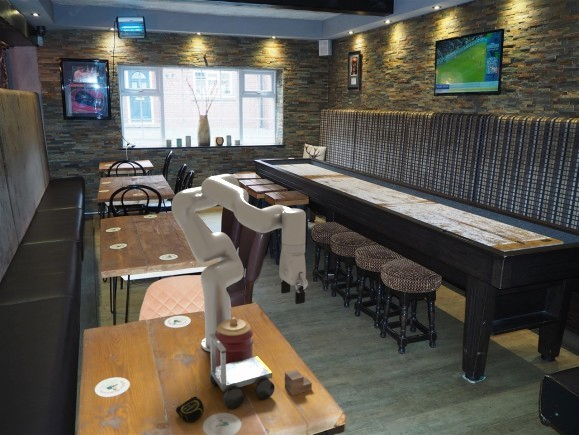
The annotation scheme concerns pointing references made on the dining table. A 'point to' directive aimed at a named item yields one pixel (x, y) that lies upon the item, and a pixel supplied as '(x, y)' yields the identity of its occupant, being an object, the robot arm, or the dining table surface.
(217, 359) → the canister
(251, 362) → the trolley
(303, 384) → the block
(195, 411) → the tape measure
